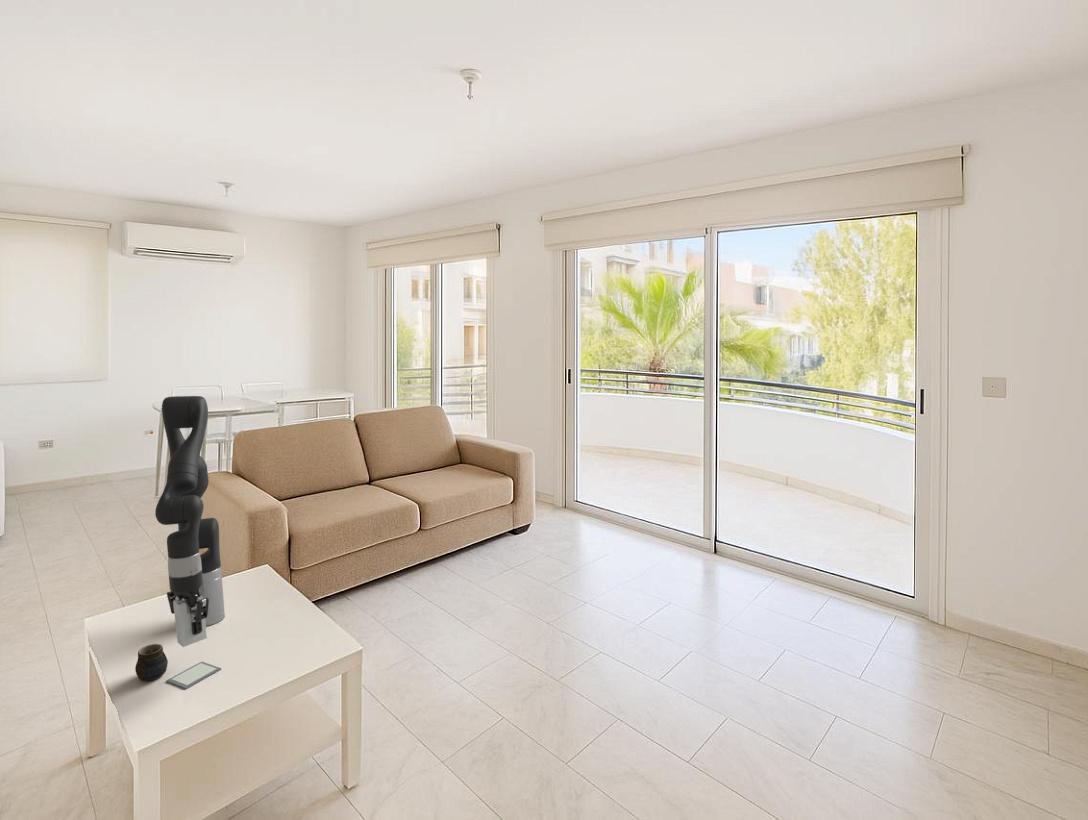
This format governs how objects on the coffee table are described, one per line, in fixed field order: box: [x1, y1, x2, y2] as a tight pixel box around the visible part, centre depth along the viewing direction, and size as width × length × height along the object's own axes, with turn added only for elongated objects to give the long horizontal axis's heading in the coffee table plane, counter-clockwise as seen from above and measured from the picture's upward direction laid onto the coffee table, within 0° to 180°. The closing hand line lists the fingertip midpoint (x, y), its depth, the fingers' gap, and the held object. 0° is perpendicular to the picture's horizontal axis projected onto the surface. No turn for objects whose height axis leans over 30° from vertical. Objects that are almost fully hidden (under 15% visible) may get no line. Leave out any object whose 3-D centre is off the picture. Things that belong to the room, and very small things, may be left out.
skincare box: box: [173, 596, 208, 648], centre depth 158 cm, size 6×4×12 cm
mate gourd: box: [134, 643, 169, 682], centre depth 159 cm, size 7×8×10 cm
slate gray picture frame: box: [165, 661, 222, 690], centre depth 160 cm, size 8×10×1 cm
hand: (190, 631), depth 159 cm, fingers closed on skincare box, 5 cm apart
